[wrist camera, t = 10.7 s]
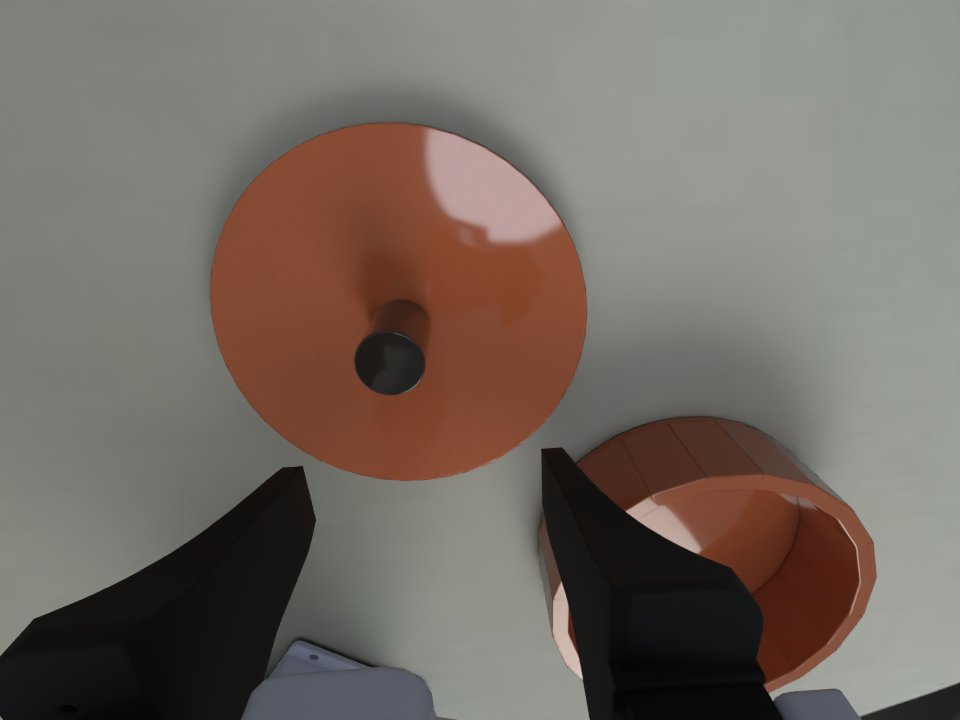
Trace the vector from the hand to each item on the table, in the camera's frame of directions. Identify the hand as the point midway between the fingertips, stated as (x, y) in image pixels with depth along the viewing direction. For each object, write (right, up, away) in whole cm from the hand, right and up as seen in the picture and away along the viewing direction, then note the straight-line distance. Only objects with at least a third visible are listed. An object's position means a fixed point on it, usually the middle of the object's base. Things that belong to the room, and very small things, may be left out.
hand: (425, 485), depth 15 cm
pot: (+12, -6, +13) cm, 19 cm away
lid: (-2, +5, +7) cm, 9 cm away
